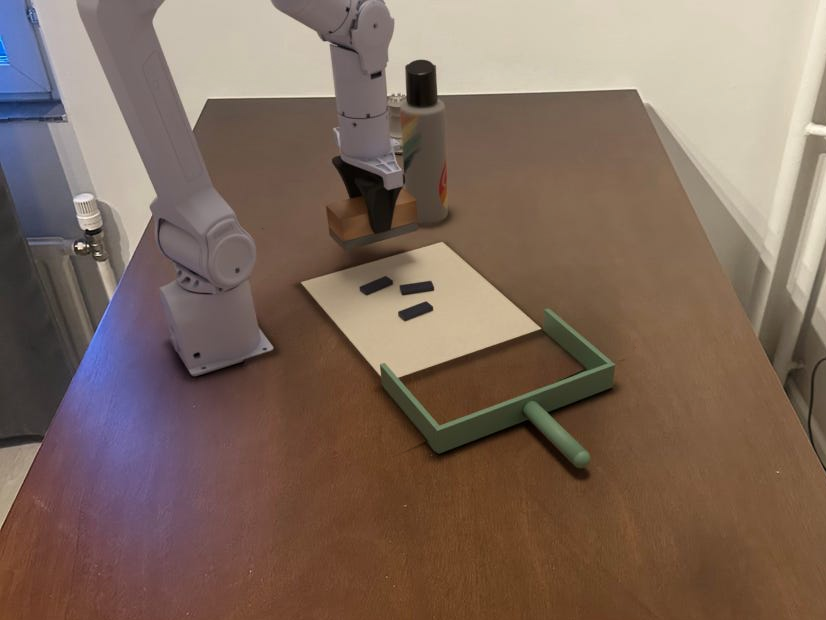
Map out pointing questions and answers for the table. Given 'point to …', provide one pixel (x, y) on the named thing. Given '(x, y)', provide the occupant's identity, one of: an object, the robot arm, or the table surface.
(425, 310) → the stroke
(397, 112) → the rook chess piece
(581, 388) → the green handled pusher frame
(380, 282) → the stroke
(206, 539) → the table surface
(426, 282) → the stroke
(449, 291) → the cream rectangular board
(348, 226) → the eraser
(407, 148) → the lotion bottle
